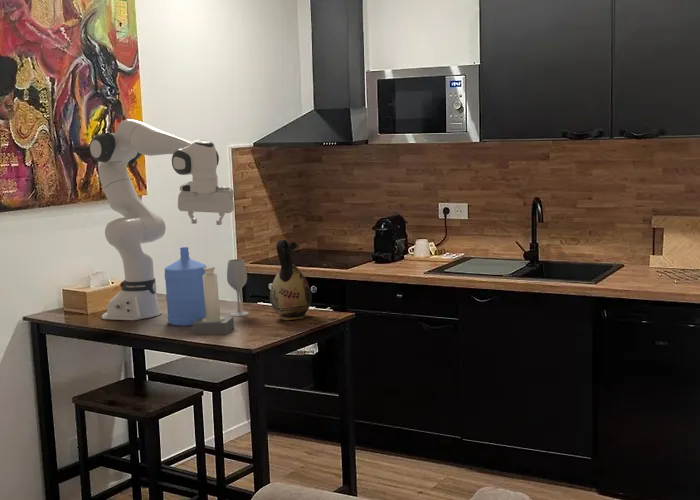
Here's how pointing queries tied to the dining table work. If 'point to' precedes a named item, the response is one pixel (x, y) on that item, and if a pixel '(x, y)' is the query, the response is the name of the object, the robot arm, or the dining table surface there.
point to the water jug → (185, 290)
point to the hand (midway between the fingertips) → (206, 224)
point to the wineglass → (237, 280)
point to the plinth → (213, 326)
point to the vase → (211, 294)
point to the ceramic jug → (289, 286)
